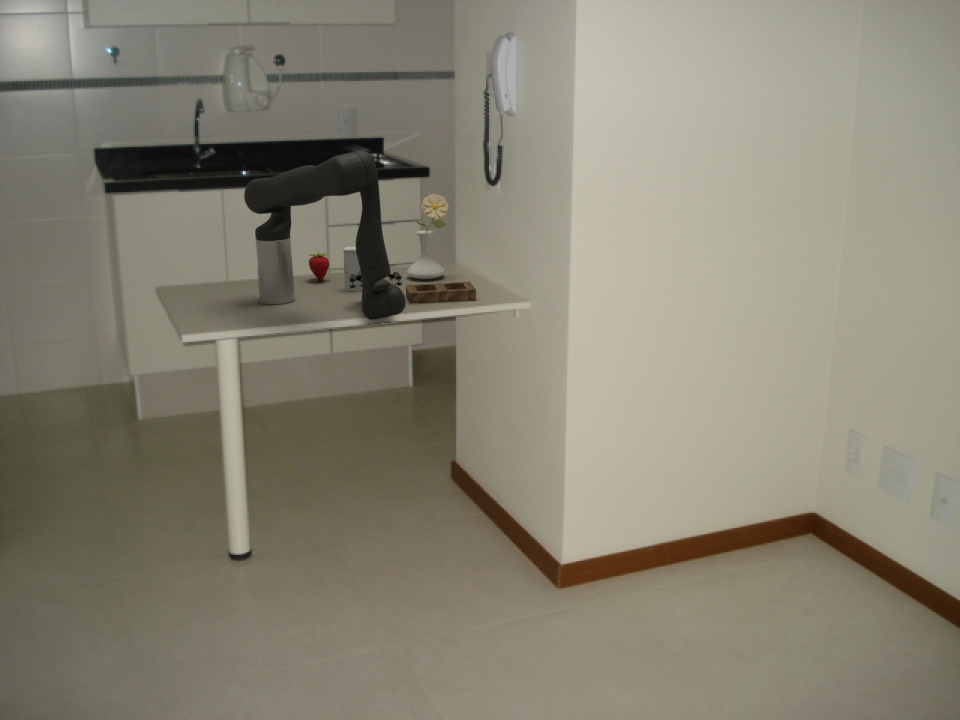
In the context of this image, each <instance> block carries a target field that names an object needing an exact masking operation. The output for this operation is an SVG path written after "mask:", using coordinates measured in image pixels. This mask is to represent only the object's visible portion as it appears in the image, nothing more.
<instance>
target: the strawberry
mask: <svg viewBox="0 0 960 720" xmlns="http://www.w3.org/2000/svg"><path fill="white" fill-rule="evenodd" d="M314 249H316V247H314ZM316 251H317V253H312V254H308V256H310V259H308V266H309V268H310V271H311V272H312V274H313V275H314V276H315V277H316V279H317V280H318V281H319V282H322V281H323V280H324V278H325V277H326V275H327V273H328V271H329V268H330V261H329V259H328V257H326V256H327V255H326V254H327V253H320V252H319V250H318V249H316Z"/></svg>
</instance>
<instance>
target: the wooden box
mask: <svg viewBox="0 0 960 720" xmlns="http://www.w3.org/2000/svg"><path fill="white" fill-rule="evenodd" d="M405 297H406V299H407V298H408V299H407V301H408V302H410V303H418V304H431V303H435V304H436V303H447V302H448V303H449V302H468V301H469V302H470V301H471V302H472V301H477V289H476V288H475V287H474V285H473V284H472V282H471V281H453V282H451V281H450V282H435V283H415V284H405ZM410 303H409V304H410Z"/></svg>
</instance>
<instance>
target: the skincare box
mask: <svg viewBox="0 0 960 720" xmlns="http://www.w3.org/2000/svg"><path fill="white" fill-rule="evenodd" d="M359 271H360V266H359V262H358V258H357V254H356V246H346V247H344V249H343V272H344V274H343V275H344V276H343V277H344V292H362V287H361V286H360V285H356V287H354V288H350V281H349V278H350V275H351V274H355V276H357V273H359Z"/></svg>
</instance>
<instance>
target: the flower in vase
mask: <svg viewBox="0 0 960 720" xmlns="http://www.w3.org/2000/svg"><path fill="white" fill-rule="evenodd" d="M449 208H450V207H449V203H447V200H446V198H445V197H444V196H443V195H442V196H441V195H440V194H435V193H432V194H429V195H427V197H424V198H423V200H422V204H421V211H422V213H423V214H424V216H425V217H426V218H429V219H430V220H431V219H432V220H431V222H430V224H429V225H428V226H427V225H426V224H425V223H422V222H419V221H418V220H415V221H416V223H417V224H418V225H419V226H422V227H425V228H426V230H418V231H416V232H415V234H416V235H417V236H418V237H419V242H420V249H421V253H420V257H419V258H418V259H417V260H416V261H415V262H414V263H413V264H411V266H410V267H409V268H407V271H406V274H407V276H409V278H410V277H411V278H413V279H416V280H417V279H418V280H432V279H437V278H440V277H442V276H443V275H445V273H446V271H445V269H444V268H443V266H441V264H439V263H438V262H437V261H436V260H434V259H433V258H432V257H431V254H430V240H431V237H432V235H433V233H434V231H432V230H429V229H430V227H431V226H434V227H435V228H437V229H441V228H443V227H447V224H446V222H445V221H444V220H442V219H441V218H444V217H446V216H447V213H448V210H449ZM432 224H433V225H432Z"/></svg>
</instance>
